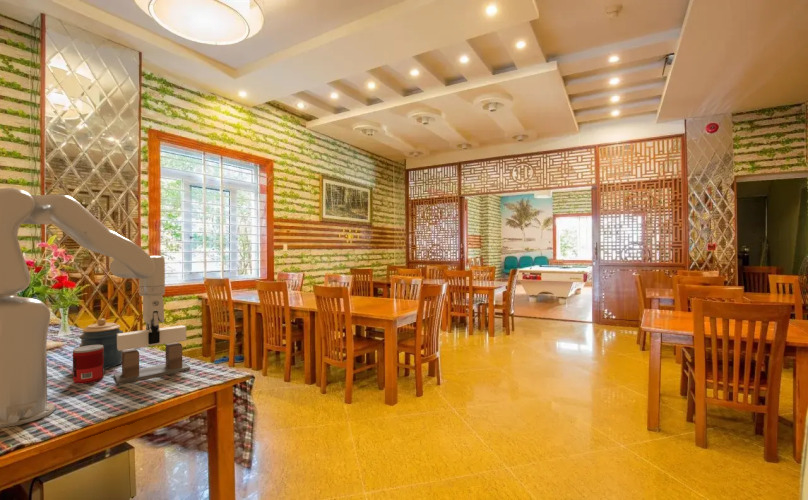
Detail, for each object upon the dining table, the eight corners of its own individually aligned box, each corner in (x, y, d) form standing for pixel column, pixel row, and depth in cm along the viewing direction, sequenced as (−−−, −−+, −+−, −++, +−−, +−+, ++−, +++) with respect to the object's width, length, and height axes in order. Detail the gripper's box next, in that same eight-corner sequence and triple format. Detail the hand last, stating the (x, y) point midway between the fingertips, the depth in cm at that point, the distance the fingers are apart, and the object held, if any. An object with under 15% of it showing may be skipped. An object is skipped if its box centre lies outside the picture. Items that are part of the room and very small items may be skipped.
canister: (120, 357, 150) (120, 314, 150) (126, 365, 141) (125, 318, 141) (77, 365, 141) (77, 318, 141) (81, 373, 132) (80, 323, 132)
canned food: (109, 377, 128) (109, 345, 128) (84, 385, 121) (83, 351, 121) (93, 375, 130) (92, 343, 130) (67, 383, 123) (66, 349, 123)
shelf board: (186, 340, 138) (186, 326, 138) (118, 350, 124) (118, 335, 124) (183, 338, 141) (183, 325, 141) (116, 348, 127) (116, 333, 127)
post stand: (190, 369, 136) (189, 345, 136) (118, 384, 122) (117, 357, 121) (182, 363, 143) (182, 340, 143) (113, 376, 129) (113, 350, 129)
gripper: (170, 291, 129) (170, 344, 129) (159, 287, 141) (159, 336, 141) (144, 293, 123) (144, 348, 124) (135, 289, 135) (135, 339, 136)
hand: (152, 341), depth 132 cm, fingers closed on shelf board, 3 cm apart
